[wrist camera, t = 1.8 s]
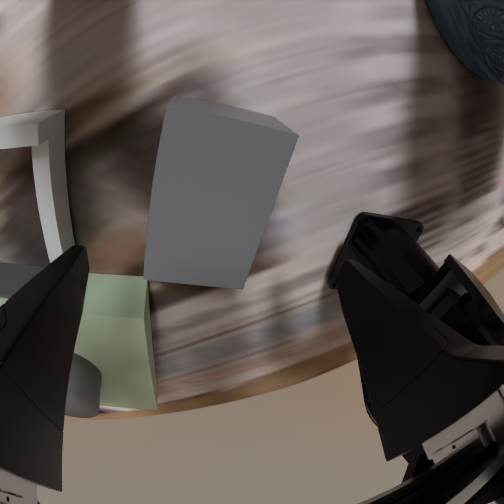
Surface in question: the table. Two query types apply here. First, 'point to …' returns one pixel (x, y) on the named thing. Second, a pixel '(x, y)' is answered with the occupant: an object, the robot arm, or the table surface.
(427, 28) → the table surface
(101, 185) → the table surface
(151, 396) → the green block with frame
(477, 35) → the canister
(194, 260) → the gray rectangular prism
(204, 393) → the table surface
